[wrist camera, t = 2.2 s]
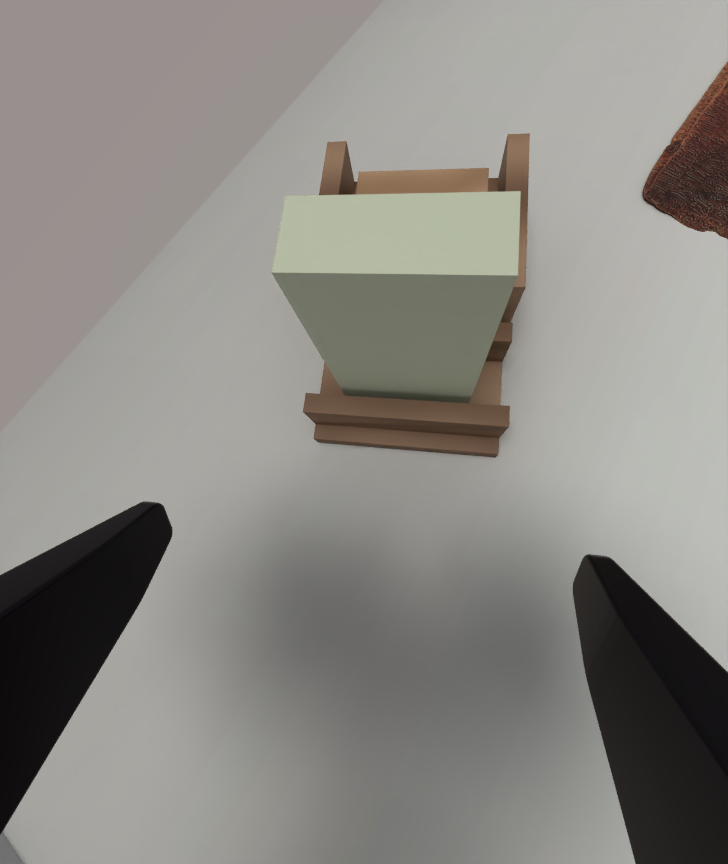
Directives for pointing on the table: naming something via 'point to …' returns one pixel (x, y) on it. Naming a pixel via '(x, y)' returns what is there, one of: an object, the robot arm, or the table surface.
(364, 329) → the tall board
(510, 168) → the offcut rack
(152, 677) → the table surface
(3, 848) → the electronic device
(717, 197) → the wooden tablet
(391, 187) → the small oak offcut
